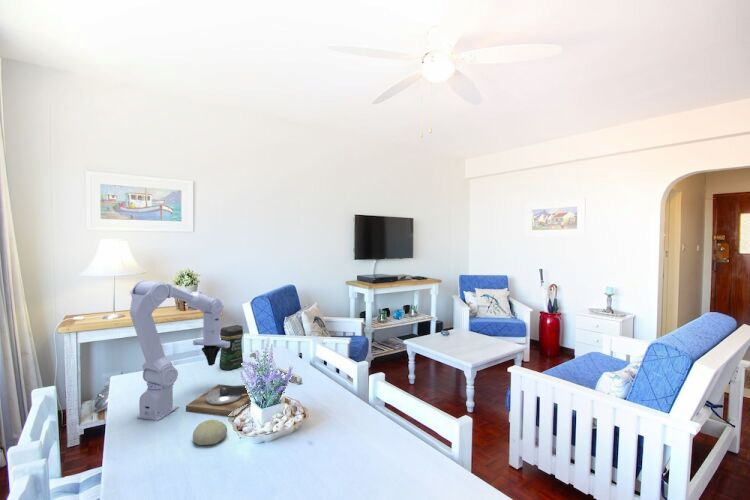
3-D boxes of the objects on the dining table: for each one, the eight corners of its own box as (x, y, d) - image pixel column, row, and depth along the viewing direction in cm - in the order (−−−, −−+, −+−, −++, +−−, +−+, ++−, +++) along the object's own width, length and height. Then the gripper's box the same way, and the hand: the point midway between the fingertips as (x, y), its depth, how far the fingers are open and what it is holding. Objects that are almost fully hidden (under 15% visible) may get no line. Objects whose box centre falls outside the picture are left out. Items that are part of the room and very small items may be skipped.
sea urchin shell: (218, 420, 113) (225, 408, 109) (225, 445, 109) (233, 434, 105) (186, 430, 106) (193, 418, 102) (193, 457, 103) (200, 446, 98)
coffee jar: (226, 372, 158) (226, 329, 157) (216, 367, 162) (216, 326, 162) (246, 365, 165) (246, 325, 165) (235, 362, 170) (236, 322, 169)
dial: (201, 406, 121) (201, 396, 121) (209, 391, 132) (209, 382, 132) (246, 402, 124) (246, 392, 124) (249, 388, 136) (249, 379, 136)
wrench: (298, 392, 146) (248, 368, 161) (301, 390, 147) (251, 367, 162) (300, 372, 145) (249, 351, 160) (303, 371, 146) (253, 350, 162)
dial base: (234, 417, 119) (234, 410, 118) (185, 411, 122) (185, 404, 122) (261, 394, 136) (261, 388, 136) (218, 389, 140) (218, 383, 139)
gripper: (234, 328, 142) (234, 362, 142) (201, 326, 145) (201, 359, 145) (223, 332, 135) (223, 369, 135) (189, 330, 138) (189, 365, 138)
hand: (211, 364), depth 140 cm, fingers closed
